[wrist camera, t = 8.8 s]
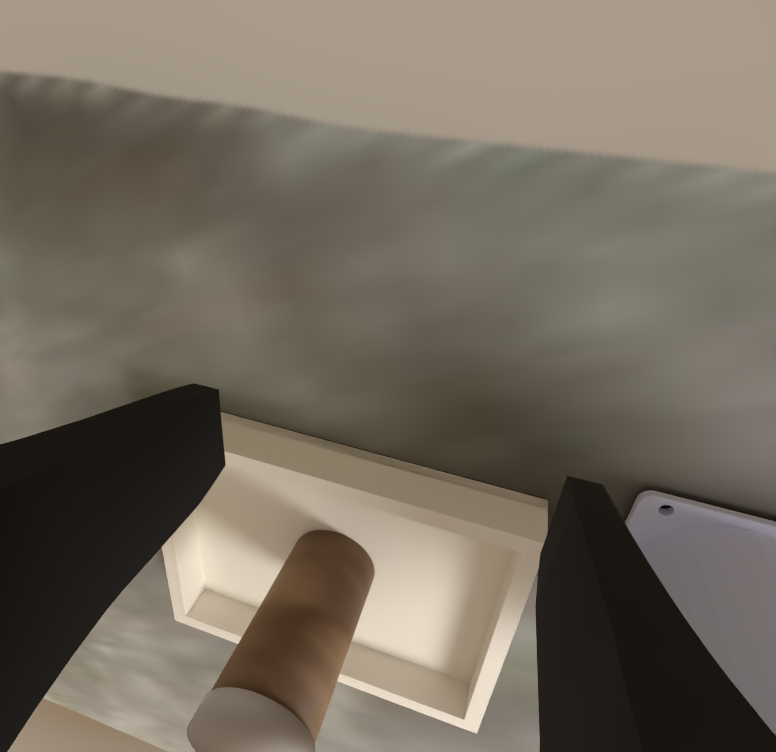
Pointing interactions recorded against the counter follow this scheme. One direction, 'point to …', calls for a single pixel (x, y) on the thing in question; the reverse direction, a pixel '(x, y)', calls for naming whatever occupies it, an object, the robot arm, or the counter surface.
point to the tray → (387, 551)
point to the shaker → (289, 652)
